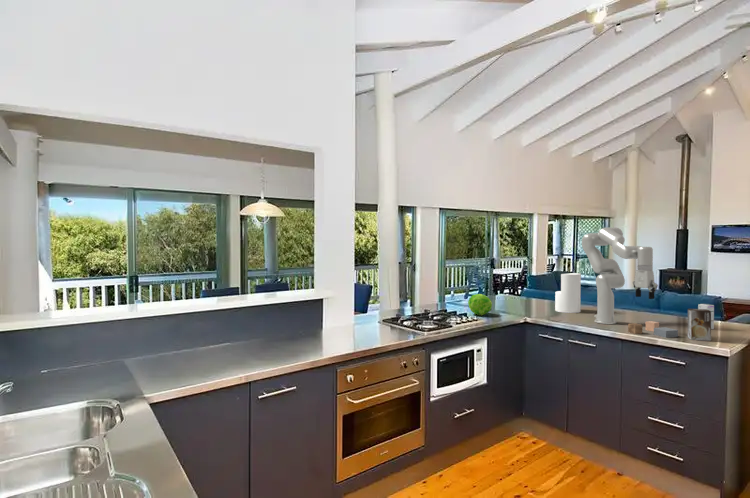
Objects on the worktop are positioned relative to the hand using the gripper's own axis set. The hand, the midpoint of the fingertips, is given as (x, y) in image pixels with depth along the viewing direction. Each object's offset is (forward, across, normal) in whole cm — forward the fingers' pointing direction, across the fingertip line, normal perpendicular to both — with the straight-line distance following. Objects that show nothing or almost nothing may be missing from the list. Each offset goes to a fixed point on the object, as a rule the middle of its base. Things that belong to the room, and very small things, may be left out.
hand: (644, 297), depth 255 cm
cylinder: (+20, -76, +2) cm, 79 cm away
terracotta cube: (+20, -4, +9) cm, 23 cm away
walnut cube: (+20, -1, -6) cm, 21 cm away
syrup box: (+20, -2, +44) cm, 49 cm away
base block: (+21, +9, +5) cm, 23 cm away
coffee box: (+20, +20, +16) cm, 33 cm away
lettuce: (+20, -75, -68) cm, 103 cm away
